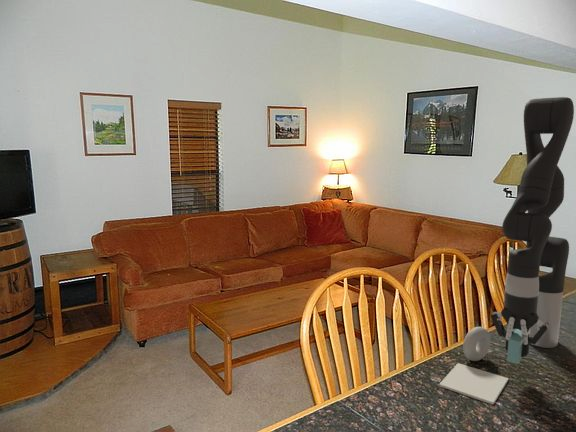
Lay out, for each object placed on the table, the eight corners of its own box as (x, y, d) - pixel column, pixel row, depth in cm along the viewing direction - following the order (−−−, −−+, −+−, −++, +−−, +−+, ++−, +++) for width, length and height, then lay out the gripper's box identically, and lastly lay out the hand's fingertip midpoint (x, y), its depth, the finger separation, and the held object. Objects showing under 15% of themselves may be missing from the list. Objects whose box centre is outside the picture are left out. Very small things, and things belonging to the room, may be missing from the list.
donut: (469, 367, 125) (472, 333, 123) (459, 362, 128) (461, 328, 126) (491, 358, 130) (494, 325, 128) (481, 353, 133) (483, 321, 131)
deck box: (514, 349, 121) (516, 328, 120) (525, 351, 119) (527, 330, 118) (506, 361, 115) (508, 339, 114) (518, 364, 113) (520, 342, 112)
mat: (457, 365, 126) (457, 363, 126) (508, 380, 118) (508, 378, 118) (439, 386, 115) (439, 384, 115) (493, 404, 107) (493, 402, 107)
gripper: (555, 292, 112) (549, 356, 116) (496, 281, 121) (492, 341, 124) (550, 301, 107) (543, 368, 110) (488, 289, 115) (483, 352, 119)
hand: (516, 354), depth 117 cm, fingers closed on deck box, 2 cm apart
